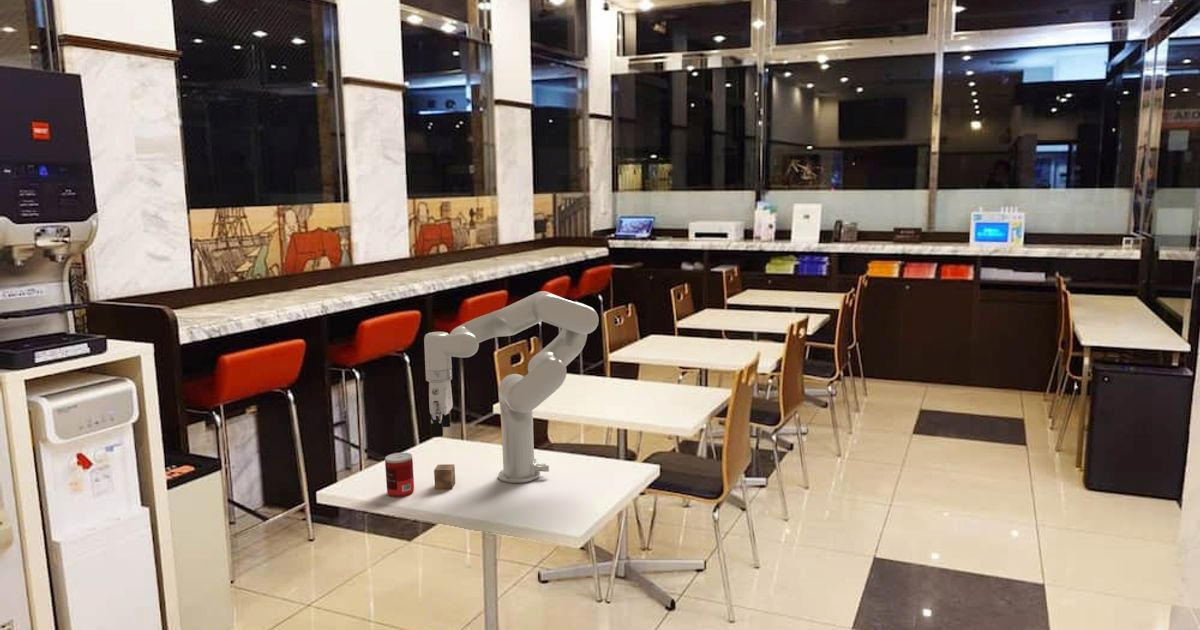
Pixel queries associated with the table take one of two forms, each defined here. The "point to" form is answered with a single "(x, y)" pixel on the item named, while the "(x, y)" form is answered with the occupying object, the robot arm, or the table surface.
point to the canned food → (399, 474)
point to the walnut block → (444, 476)
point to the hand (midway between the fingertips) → (441, 431)
